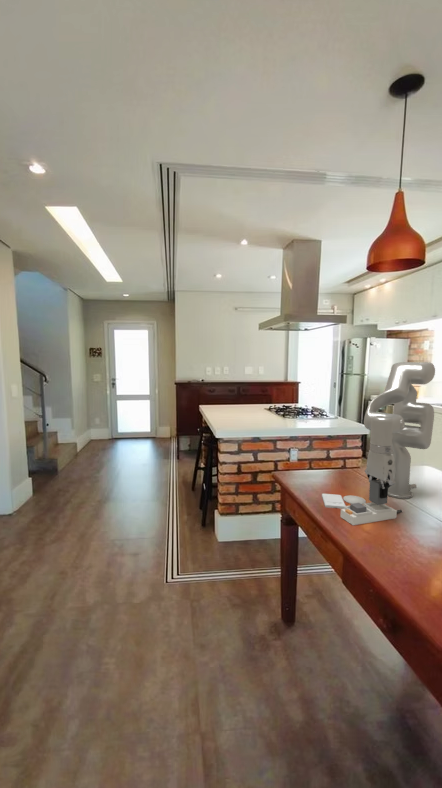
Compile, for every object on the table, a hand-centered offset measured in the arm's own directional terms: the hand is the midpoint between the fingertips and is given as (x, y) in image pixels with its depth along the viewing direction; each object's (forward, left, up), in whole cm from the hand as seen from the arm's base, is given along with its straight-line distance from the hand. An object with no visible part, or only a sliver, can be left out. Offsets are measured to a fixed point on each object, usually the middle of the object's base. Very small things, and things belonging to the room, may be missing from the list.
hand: (378, 494), depth 129 cm
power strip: (+1, 0, -8) cm, 9 cm away
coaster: (-2, -15, -8) cm, 17 cm away
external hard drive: (+8, -16, -9) cm, 20 cm away
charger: (0, 0, -3) cm, 3 cm away
